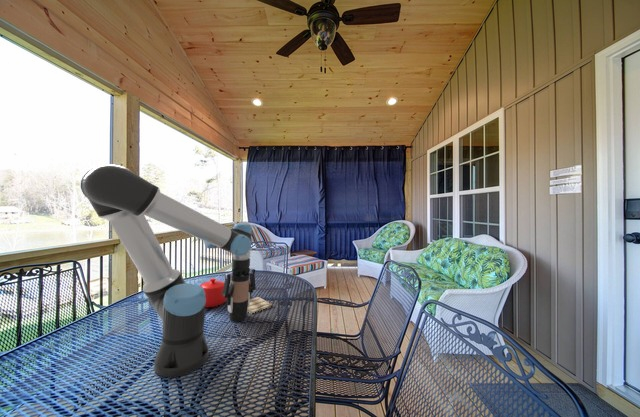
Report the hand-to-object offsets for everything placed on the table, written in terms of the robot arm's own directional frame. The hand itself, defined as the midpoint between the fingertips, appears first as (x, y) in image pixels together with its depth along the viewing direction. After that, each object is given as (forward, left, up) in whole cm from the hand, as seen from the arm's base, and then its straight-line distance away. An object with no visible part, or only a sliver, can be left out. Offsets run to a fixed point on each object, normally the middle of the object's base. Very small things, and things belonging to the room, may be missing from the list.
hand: (238, 308), depth 105 cm
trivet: (+12, +5, -4) cm, 14 cm away
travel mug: (0, 0, -4) cm, 4 cm away
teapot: (-1, +22, -4) cm, 22 cm away
